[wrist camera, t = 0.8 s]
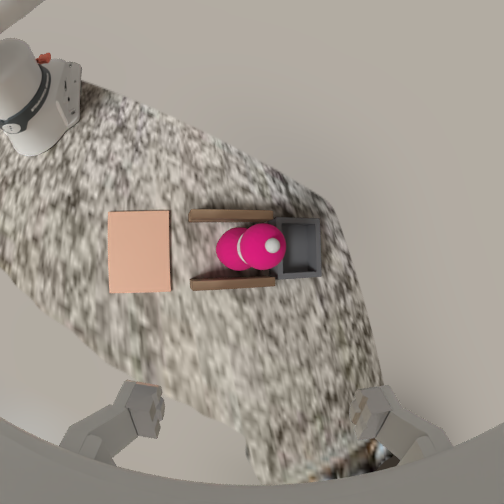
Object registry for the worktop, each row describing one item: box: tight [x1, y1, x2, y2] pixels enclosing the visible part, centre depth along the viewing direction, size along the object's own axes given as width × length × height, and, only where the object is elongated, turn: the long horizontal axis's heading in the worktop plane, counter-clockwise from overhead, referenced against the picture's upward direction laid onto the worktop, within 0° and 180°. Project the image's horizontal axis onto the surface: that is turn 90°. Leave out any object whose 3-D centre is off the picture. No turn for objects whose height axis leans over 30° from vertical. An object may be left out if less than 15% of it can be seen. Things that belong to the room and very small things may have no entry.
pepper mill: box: [216, 223, 286, 271], centre depth 43 cm, size 7×7×20 cm
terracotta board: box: [108, 211, 171, 293], centre depth 47 cm, size 14×11×1 cm
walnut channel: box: [188, 209, 275, 291], centre depth 50 cm, size 13×14×5 cm
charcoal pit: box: [268, 217, 321, 279], centre depth 54 cm, size 11×9×4 cm
